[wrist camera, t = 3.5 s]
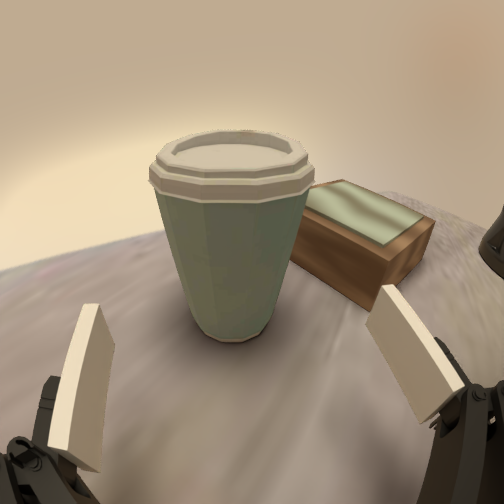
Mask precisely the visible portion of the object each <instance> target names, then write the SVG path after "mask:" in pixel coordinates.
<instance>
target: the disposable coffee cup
mask: <svg viewBox="0 0 504 504" xmlns="http://www.w3.org/2000/svg"><path fill="white" fill-rule="evenodd" d="M314 169H315V168H314V167H313V165H312V164H311V163H310V162H309V161H308V153H307V152H306V150H305V149H304V147H303V146H302V145H301V143H300V142H298V141H296V140H294V139H291V138H289V137H286V136H284V135H281V134H279V133H272V132H264V131H253V130H213V131H207V132H202V133H197V134H192V135H188V136H185V137H182V138H180V139H177V140H175V141H172V142H170V143H168V144H166V145H165V146H164V147H163V148H162V150H161V151H160V152H159V153H158V154H157V155H156V160H155V161H154V162H153V163H152V164H151V165H150V167H149V180H148V181H149V182H150V184H152V186H153V187H154V190H155V194H156V198H157V201H158V205H159V209H160V213H161V217H162V220H163V224H164V227H165V231H166V234H167V238H168V241H169V245H170V248H171V251H172V255H173V258H174V261H175V264H176V268H177V271H178V274H179V277H180V280H181V283H182V286H183V289H184V292H185V295H186V298H187V301H188V304H189V307H190V310H191V313H192V316H193V318H194V319H195V321H196V322H197V324H198V325H199V327H200V328H201V330H203V332H204V333H205V334H206V335H208V336H210V337H212V338H214V339H216V340H219V341H221V342H243V341H246V340H248V339H250V338H252V337H254V336H257V335H259V333H260V332H261V331H262V330H263V328H264V327H265V325H266V324H267V323H268V321H269V320H270V318H271V316H272V313H273V310H274V307H275V304H276V301H277V298H278V295H279V291H280V288H281V285H282V282H283V279H284V275H285V272H286V269H287V266H288V262H289V259H290V256H291V252H292V249H293V246H294V242H295V239H296V236H297V232H298V229H299V225H300V222H301V218H302V215H303V211H304V208H305V204H306V201H307V197H308V194H309V190H310V186H311V185H313V184H314V183H315V180H314Z"/></svg>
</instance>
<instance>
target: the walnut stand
mask: <svg viewBox="0 0 504 504" xmlns="http://www.w3.org/2000/svg"><path fill="white" fill-rule="evenodd" d="M435 222H436V221H435V220H433V219H431V218H429V217H427V216H425V215H423V214H421V213H418V212H416V211H414V210H412V209H410V208H408V207H406V206H404V205H402V204H399V203H397V202H395V201H393V200H391V199H388V198H386V197H384V196H382V195H379V194H377V193H375V192H372V191H370V190H368V189H365V188H363V187H360V186H358V185H355V184H353V183H350V182H348V181H345V180H342V179H341V180H336V181H332V182H327V183H323V184H319V185H314V186H310V190H309V194H308V197H307V201H306V204H305V208H304V211H303V215H302V218H301V222H300V225H299V229H298V232H297V236H296V239H295V242H294V246H293V249H292V252H291V256H290V260H291V261H293V262H294V263H296V264H298V265H299V266H301V267H302V268H304V269H305V270H307V271H308V272H310V273H311V274H313V275H314V276H316V277H317V278H319V279H320V280H322V281H323V282H325V283H327V284H328V285H330V286H331V287H333V288H334V289H336V290H337V291H339V292H340V293H342V294H343V295H345V296H346V297H348V298H349V299H351V300H352V301H354V302H355V303H357V304H358V305H360V306H361V307H363V308H364V309H366V310H367V311H369V312H370V311H371V310H372V308H373V305H374V303H375V301H376V298H377V296H378V293H379V291H380V288H381V286H383V285H390V284H393V285H394V286H395V287H396V286H397V285H398V284H399V283H400V282H401V280H402V279H403V278H404V277H405V276H406V275H407V274H408V273H409V272H410V271H411V270H412V269H413V268H414V267H415V266H416V265H417V264H418V263H419V262H420V260H421V259H422V257H423V255H424V252H425V250H426V247H427V244H428V242H429V239H430V236H431V233H432V230H433V227H434V225H435Z"/></svg>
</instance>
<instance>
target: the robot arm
mask: <svg viewBox="0 0 504 504" xmlns="http://www.w3.org/2000/svg"><path fill="white" fill-rule="evenodd" d="M479 252H480V254H481V256H482V257H483V259H484V260H485V261H486V263H487V264H488V265H489V266H490V267H491V268H492V269H493V270H494V271H495V272H497V273H498V274H499V275H500V276H502V277H503V278H504V206H503V209H502V212H501V214H500V215H499V217H498V218H497V220H496V221H495V222H494V224H493V225H492V226H491V227H490V229H489V230H488V231H487V232H486V234H485V235H484V236H483V238H482V241H481V243H480V246H479ZM365 325H366V326H367V328H368V330H369V331H370V333H371V335H372V337H373V338H374V340H375V342H376V343H377V345H378V347H379V349H380V350H381V352H382V354H383V356H384V358H385V359H386V361H387V363H388V365H389V366H390V368H391V370H392V372H393V374H394V376H395V377H396V379H397V381H398V383H399V385H400V387H401V389H402V390H403V392H404V394H405V396H406V398H407V400H408V402H409V404H410V406H411V408H412V410H413V411H414V413H415V415H416V417H417V419H418V421H419V423H420V424H421V423H423V422H426V421H428V420H429V419H431V418H433V417H434V416H435V415H436V414H437V413H438V412H439V413H440V416H439V417H438V418H437V419H435V420H434V421H433V422H432V423H431V424H430V427H429V428H432V427H433V426H434V425H435V424H437V425H436V426H435V427H434V430H436V431H435V436H434V441H433V446H432V451H431V455H430V459H429V463H428V467H427V471H426V475H425V478H424V482H423V485H422V488H421V492H420V495H419V498H418V501H417V504H504V380H502V381H499V383H498V384H497V385H496V386H495V387H492V388H483V387H482V386H481V385H479V384H472V383H471V382H470V381H469V379H468V378H467V376H466V375H465V373H464V372H463V370H462V369H461V367H460V366H459V364H458V363H457V361H456V360H455V359H454V357H453V355H452V354H451V353H450V351H449V349H448V348H447V346H446V345H445V344H444V343H443V342H442V341H441V340H440V339H438V338H437V337H435V338H433V337H432V335H431V334H430V332H429V331H428V330H427V328H426V327H425V326H424V324H423V323H422V321H421V320H420V319H419V317H418V316H417V315H416V313H415V312H414V311H413V309H412V308H411V307H410V305H409V304H408V303H407V301H406V300H405V299H404V297H403V296H402V295H401V294H400V292H399V291H398V290H397V288H396V287H395V286H394V285H393V284H390V285H383V286H381V288H380V291H379V293H378V296H377V298H376V301H375V303H374V305H373V308H372V310H371V313H370V315H369V317H368V319H367V322H366V324H365ZM114 348H115V343H114V341H113V339H112V336H111V334H110V331H109V329H108V326H107V324H106V321H105V318H104V316H103V313H102V310H101V308H100V305H99V304H84V305H83V308H82V311H81V313H80V316H79V319H78V322H77V325H76V328H75V331H74V334H73V337H72V340H71V344H70V347H69V350H68V354H67V357H66V361H65V364H64V368H63V372H62V375H61V377H57V376H50V377H49V379H48V380H47V381H46V383H45V384H44V386H43V390H42V394H41V399H40V402H39V409H38V411H37V415H36V420H35V425H34V430H33V436H32V440H31V441H30V440H28V439H27V438H25V437H21V436H18V437H15V438H13V439H12V440H11V441H10V442H9V444H8V446H7V454H2V453H0V504H100V503H99V502H98V500H97V499H96V498H95V497H94V495H93V494H92V493H91V491H90V490H89V489H88V487H87V486H86V484H85V483H84V482H83V480H82V479H81V477H80V476H79V475H78V474H77V467H79V468H80V469H82V470H85V471H90V472H96V473H101V454H102V438H103V426H104V416H105V407H106V399H107V391H108V384H109V378H110V371H111V365H112V359H113V353H114ZM494 416H495V420H496V421H495V422H493V423H492V424H491V423H490V419H492V418H493V417H494Z"/></svg>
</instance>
